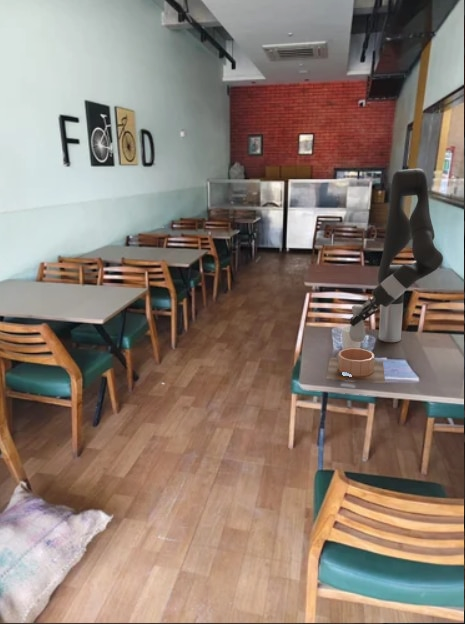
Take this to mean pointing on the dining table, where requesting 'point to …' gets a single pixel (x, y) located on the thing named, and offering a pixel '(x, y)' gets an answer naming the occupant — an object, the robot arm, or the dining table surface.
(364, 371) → the wooden bowl
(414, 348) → the dining table surface
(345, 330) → the white cup
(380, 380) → the walnut board
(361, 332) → the salt shaker
